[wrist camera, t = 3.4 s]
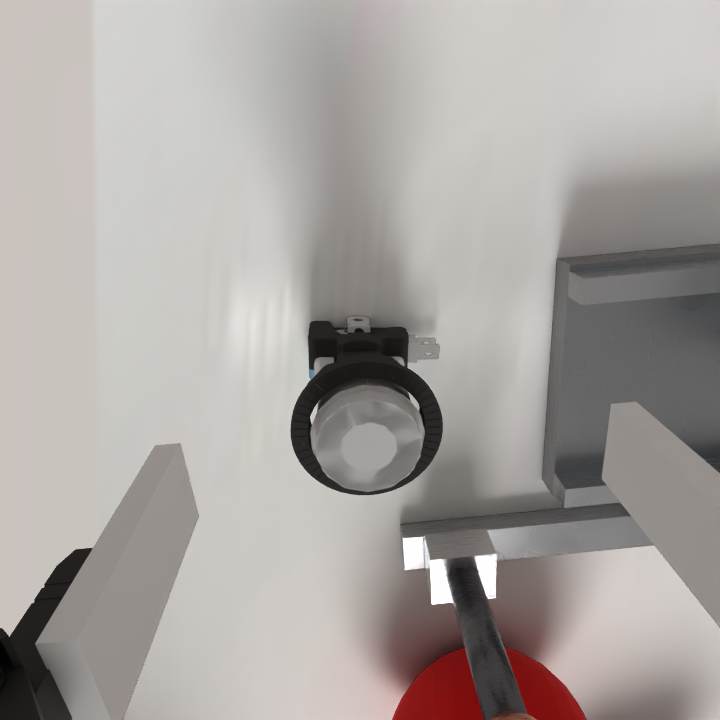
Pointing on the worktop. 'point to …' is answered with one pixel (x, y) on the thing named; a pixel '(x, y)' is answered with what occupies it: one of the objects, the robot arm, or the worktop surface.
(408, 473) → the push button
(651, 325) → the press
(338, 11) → the worktop surface
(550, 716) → the tomato
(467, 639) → the lever
